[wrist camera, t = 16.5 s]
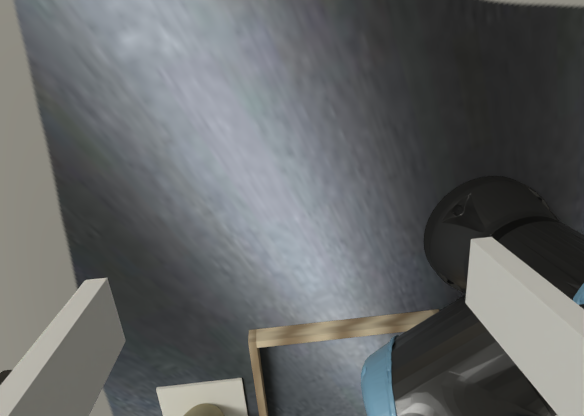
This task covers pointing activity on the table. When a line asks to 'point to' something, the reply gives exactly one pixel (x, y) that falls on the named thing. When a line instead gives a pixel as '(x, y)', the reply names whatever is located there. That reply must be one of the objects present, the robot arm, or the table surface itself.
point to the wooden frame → (323, 338)
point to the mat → (204, 397)
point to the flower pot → (204, 410)
